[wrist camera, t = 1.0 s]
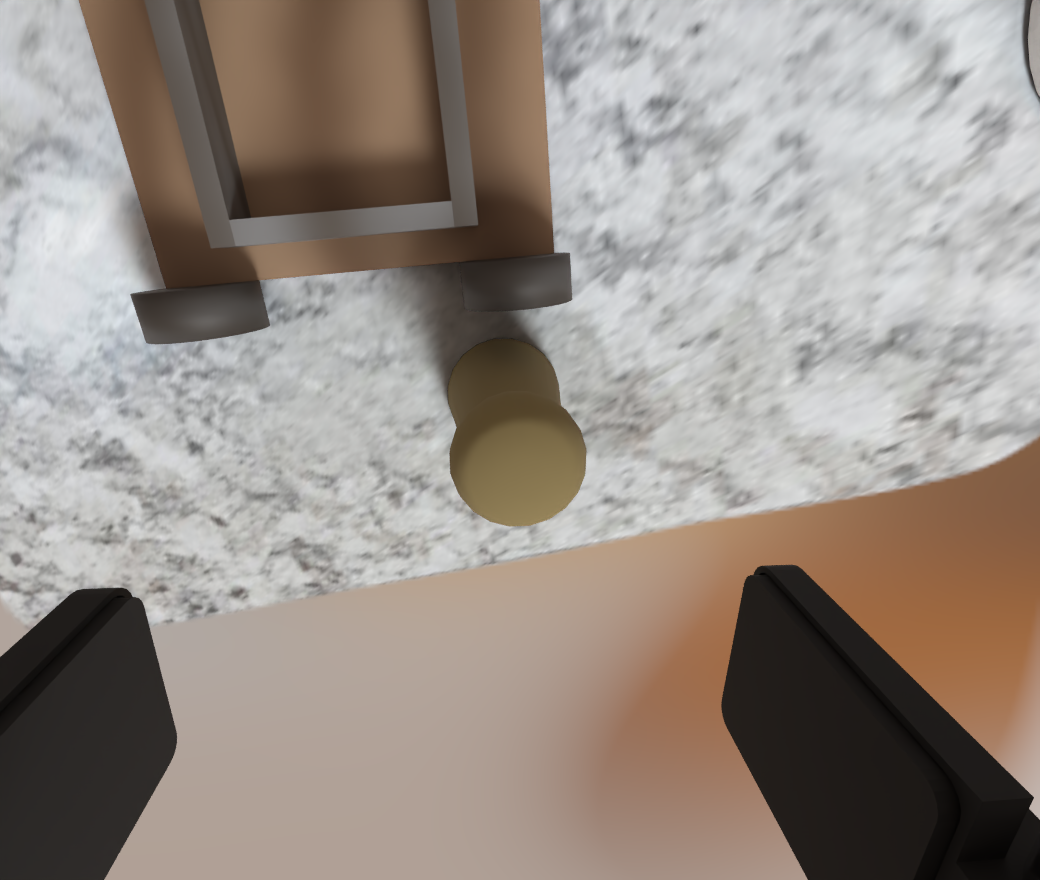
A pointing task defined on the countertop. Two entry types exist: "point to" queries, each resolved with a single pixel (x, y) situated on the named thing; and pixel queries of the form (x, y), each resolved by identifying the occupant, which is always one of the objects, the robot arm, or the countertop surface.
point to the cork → (512, 435)
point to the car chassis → (330, 148)
